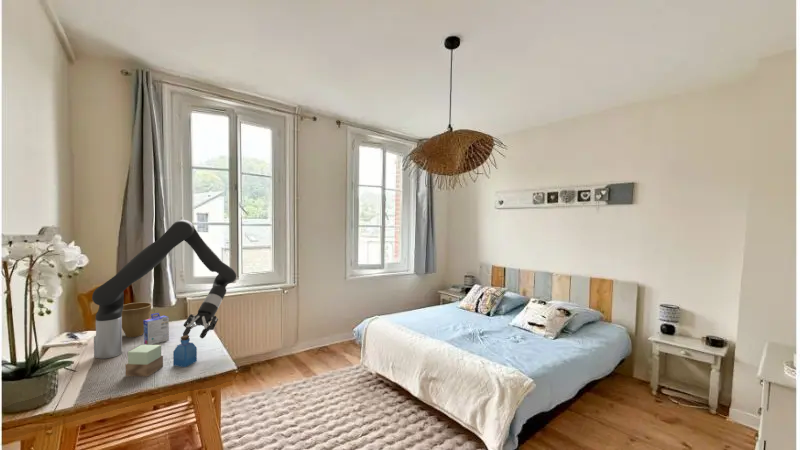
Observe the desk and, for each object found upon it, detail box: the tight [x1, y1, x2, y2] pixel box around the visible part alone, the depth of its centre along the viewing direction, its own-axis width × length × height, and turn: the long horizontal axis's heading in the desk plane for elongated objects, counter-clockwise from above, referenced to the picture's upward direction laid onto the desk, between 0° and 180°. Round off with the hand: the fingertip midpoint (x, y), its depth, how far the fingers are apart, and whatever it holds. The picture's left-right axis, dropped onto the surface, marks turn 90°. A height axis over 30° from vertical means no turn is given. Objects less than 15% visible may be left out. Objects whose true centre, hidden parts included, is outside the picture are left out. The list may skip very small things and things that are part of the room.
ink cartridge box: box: [143, 312, 170, 345], centre depth 177 cm, size 10×6×14 cm, turn 148°
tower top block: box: [127, 344, 162, 365], centre depth 144 cm, size 8×8×5 cm
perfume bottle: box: [172, 334, 198, 368], centre depth 153 cm, size 6×6×12 cm
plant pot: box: [122, 302, 152, 338], centre depth 186 cm, size 15×15×16 cm
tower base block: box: [125, 355, 164, 377], centre depth 145 cm, size 9×9×5 cm
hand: (192, 337), depth 157 cm, fingers open, 8 cm apart
